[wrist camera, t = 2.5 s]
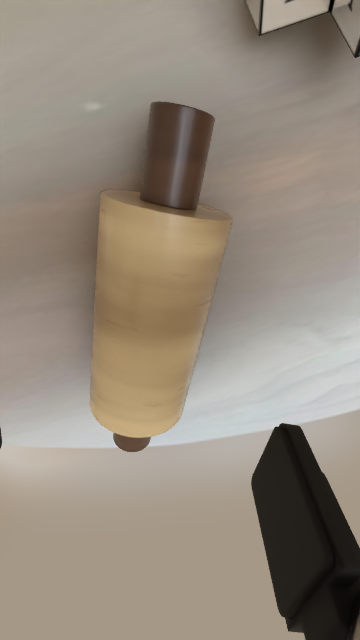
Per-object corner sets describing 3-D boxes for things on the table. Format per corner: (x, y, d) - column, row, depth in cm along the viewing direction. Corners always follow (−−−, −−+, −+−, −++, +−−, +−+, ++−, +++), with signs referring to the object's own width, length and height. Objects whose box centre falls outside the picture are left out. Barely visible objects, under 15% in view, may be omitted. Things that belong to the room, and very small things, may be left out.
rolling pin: (125, 109, 14) (82, 71, 9) (244, 135, 14) (274, 113, 9) (102, 398, 23) (73, 468, 17) (176, 411, 23) (170, 484, 18)
